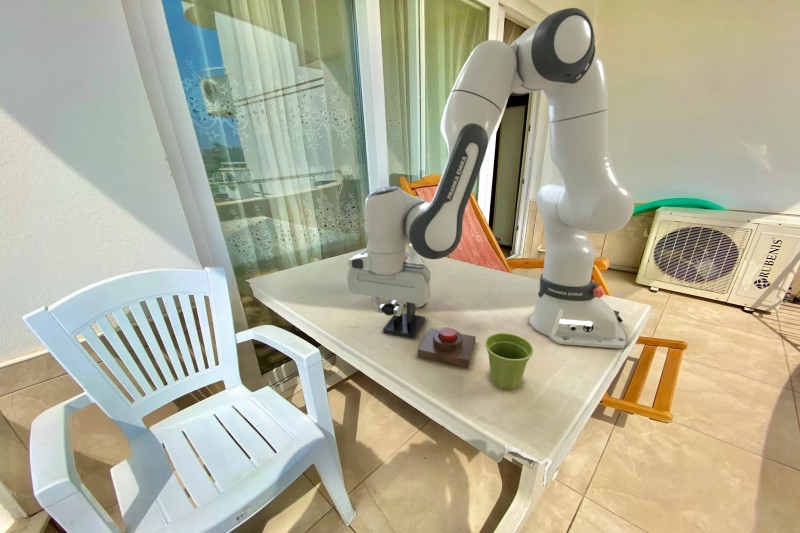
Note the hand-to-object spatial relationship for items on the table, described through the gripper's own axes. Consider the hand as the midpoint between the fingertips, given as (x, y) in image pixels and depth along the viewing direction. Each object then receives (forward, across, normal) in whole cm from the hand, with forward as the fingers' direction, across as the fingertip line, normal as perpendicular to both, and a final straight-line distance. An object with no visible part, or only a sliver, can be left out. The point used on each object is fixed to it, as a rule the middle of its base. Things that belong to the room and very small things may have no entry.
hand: (389, 313), depth 74 cm
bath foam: (+10, +2, -24) cm, 26 cm away
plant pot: (+10, -28, +3) cm, 30 cm away
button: (+6, -14, -3) cm, 16 cm away
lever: (0, 0, -5) cm, 5 cm away
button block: (+9, -14, -3) cm, 17 cm away
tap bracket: (+10, 0, -10) cm, 14 cm away
